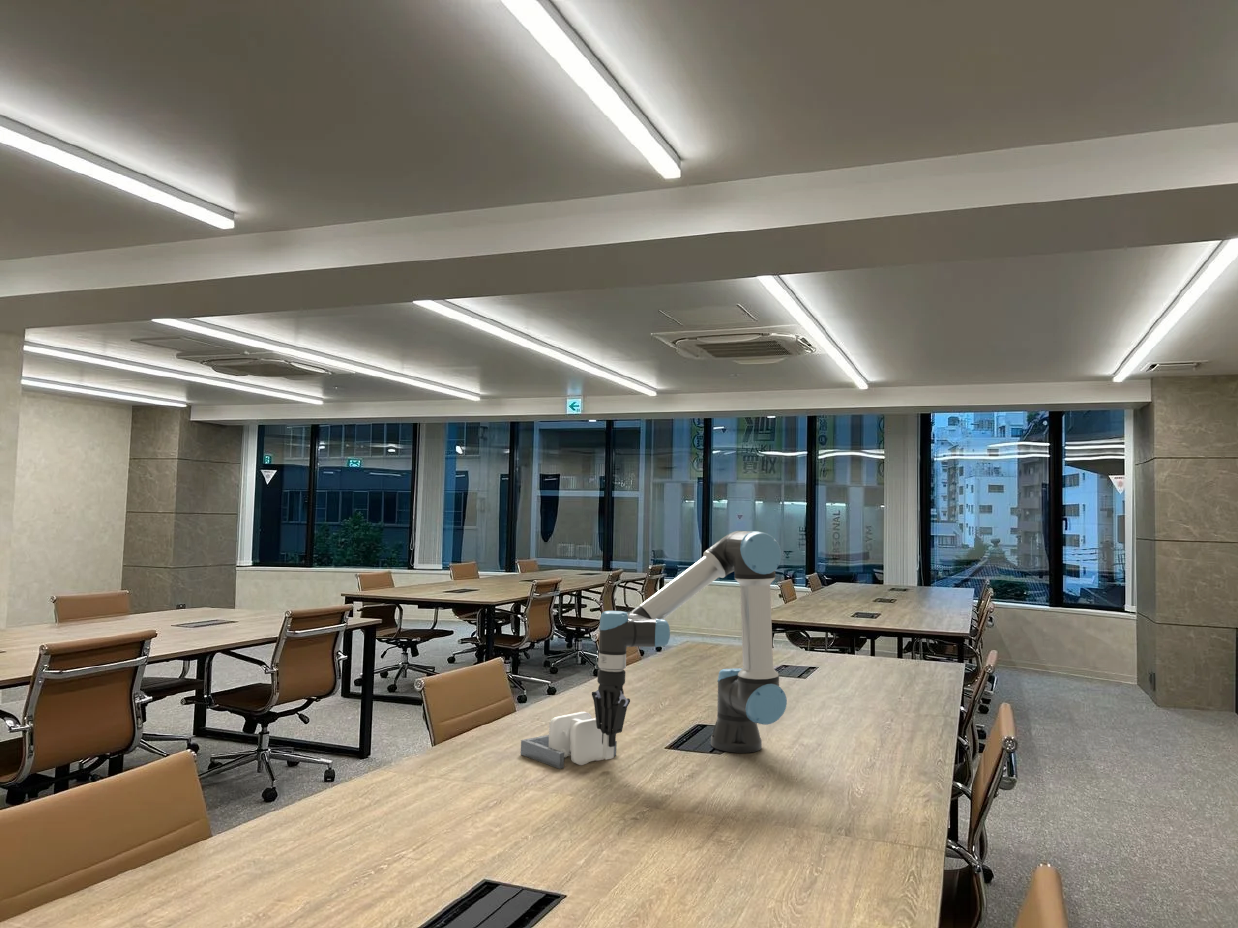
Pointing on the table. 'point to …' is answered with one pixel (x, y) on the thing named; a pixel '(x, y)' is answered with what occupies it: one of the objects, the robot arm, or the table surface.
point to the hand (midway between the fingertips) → (607, 757)
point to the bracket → (544, 751)
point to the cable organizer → (576, 737)
